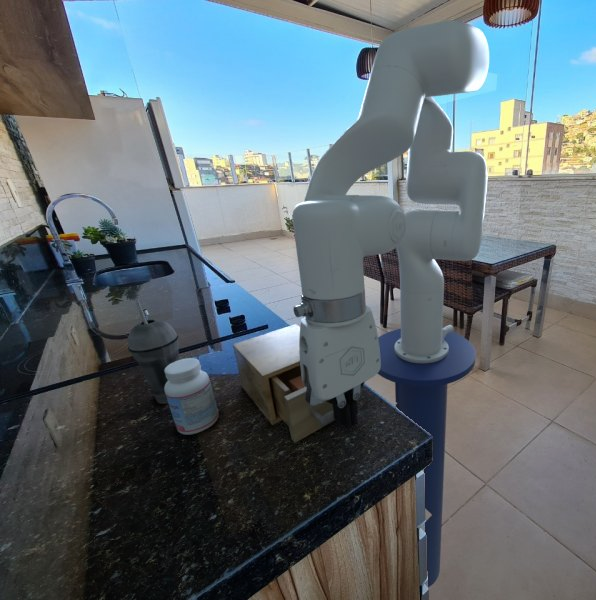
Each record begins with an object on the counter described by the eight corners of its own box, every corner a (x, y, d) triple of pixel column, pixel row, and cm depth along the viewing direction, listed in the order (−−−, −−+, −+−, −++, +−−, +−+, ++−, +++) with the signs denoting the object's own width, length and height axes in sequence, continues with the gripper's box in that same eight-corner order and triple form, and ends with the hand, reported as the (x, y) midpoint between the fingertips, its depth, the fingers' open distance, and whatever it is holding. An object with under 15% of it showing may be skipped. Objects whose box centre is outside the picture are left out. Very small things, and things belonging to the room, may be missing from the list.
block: (315, 391, 58) (312, 370, 56) (328, 402, 55) (325, 380, 53) (292, 402, 55) (288, 380, 54) (304, 414, 52) (301, 392, 51)
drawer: (371, 420, 52) (369, 379, 49) (308, 459, 45) (301, 414, 42) (317, 376, 64) (312, 341, 62) (260, 401, 57) (252, 364, 54)
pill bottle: (176, 420, 54) (157, 363, 50) (216, 406, 58) (201, 351, 54) (179, 442, 50) (158, 381, 46) (222, 424, 53) (207, 366, 49)
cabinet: (337, 392, 61) (332, 347, 57) (272, 425, 53) (262, 376, 49) (301, 363, 71) (295, 323, 67) (242, 387, 63) (232, 344, 59)
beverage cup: (197, 381, 65) (171, 288, 58) (187, 403, 58) (157, 301, 51) (155, 388, 63) (123, 293, 56) (140, 412, 56) (101, 307, 49)
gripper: (292, 332, 32) (313, 468, 39) (399, 296, 42) (401, 409, 48) (263, 312, 37) (285, 435, 44) (364, 284, 47) (370, 388, 53)
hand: (346, 421), depth 46 cm, fingers closed
